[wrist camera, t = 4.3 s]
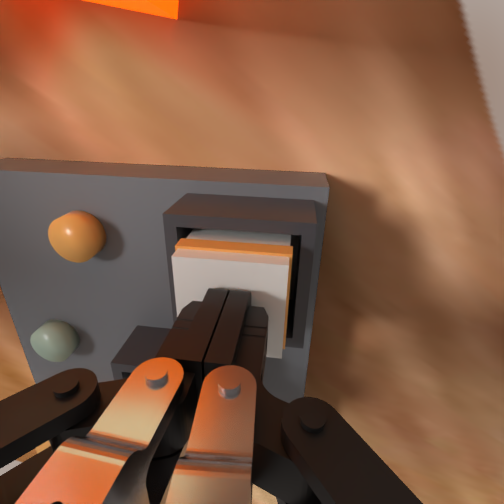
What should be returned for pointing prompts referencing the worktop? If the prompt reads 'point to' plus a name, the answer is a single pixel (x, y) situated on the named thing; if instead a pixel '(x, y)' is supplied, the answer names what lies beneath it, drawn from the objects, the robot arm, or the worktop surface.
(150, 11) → the orange juice
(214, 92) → the worktop surface
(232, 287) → the breaker tagged
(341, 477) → the robot arm
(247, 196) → the breaker panel
